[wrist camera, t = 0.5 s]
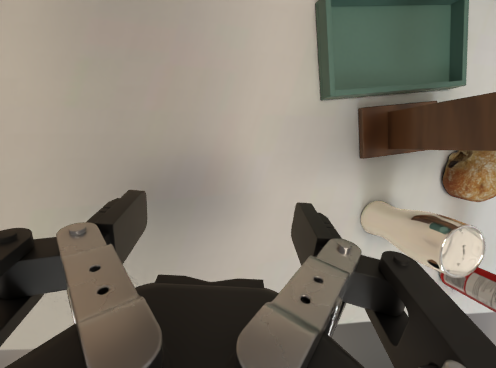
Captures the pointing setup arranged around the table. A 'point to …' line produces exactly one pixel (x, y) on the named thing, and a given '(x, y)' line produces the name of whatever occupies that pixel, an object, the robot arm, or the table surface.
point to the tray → (390, 46)
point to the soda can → (475, 286)
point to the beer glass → (427, 237)
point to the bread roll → (471, 175)
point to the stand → (429, 126)
